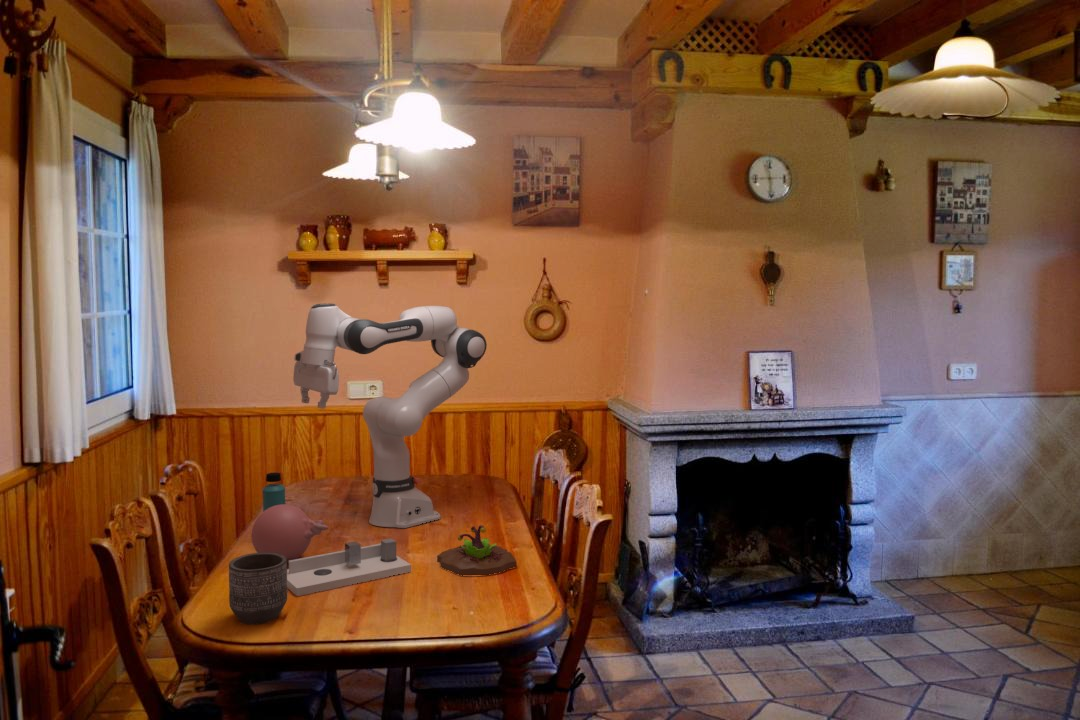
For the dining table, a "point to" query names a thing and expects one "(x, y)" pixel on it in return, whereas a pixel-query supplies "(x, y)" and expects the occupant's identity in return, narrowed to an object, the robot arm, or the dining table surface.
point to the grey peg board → (344, 569)
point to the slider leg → (352, 553)
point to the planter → (258, 587)
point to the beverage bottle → (273, 491)
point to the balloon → (284, 531)
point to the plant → (476, 556)
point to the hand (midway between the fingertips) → (313, 405)
